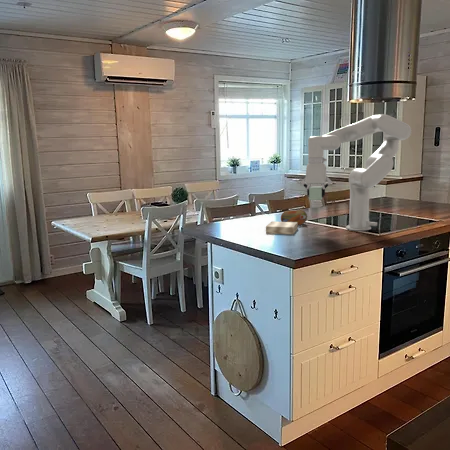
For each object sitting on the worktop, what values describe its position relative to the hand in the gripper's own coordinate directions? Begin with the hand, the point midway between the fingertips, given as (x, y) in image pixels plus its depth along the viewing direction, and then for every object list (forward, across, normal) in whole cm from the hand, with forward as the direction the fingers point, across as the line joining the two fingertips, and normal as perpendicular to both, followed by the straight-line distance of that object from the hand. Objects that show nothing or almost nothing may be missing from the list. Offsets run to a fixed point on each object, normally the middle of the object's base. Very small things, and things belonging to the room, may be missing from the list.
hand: (316, 196), depth 237 cm
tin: (+18, +14, -17) cm, 29 cm away
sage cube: (+1, 0, 0) cm, 1 cm away
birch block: (+18, +18, +1) cm, 25 cm away
